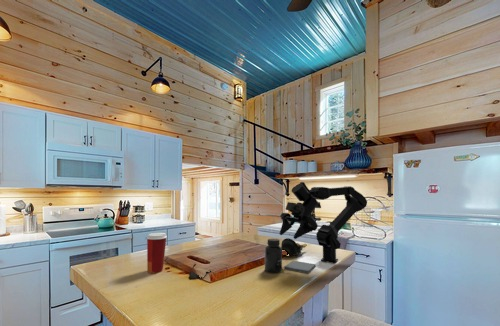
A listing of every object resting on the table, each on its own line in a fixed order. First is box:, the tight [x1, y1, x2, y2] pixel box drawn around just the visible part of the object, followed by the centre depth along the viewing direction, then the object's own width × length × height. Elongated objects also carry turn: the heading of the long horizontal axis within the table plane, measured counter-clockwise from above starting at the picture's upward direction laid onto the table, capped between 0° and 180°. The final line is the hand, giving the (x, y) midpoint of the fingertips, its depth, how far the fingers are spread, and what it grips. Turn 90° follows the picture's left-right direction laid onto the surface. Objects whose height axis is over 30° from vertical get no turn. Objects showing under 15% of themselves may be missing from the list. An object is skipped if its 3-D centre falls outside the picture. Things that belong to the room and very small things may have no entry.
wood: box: [188, 270, 203, 281], centre depth 98 cm, size 22×7×3 cm, turn 5°
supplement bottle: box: [264, 238, 283, 274], centre depth 98 cm, size 7×7×12 cm
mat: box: [283, 260, 317, 275], centre depth 101 cm, size 10×10×1 cm
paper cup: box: [145, 232, 168, 274], centre depth 96 cm, size 8×8×14 cm
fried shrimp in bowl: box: [280, 237, 308, 257], centre depth 123 cm, size 9×11×18 cm
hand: (287, 236), depth 102 cm, fingers open, 9 cm apart
